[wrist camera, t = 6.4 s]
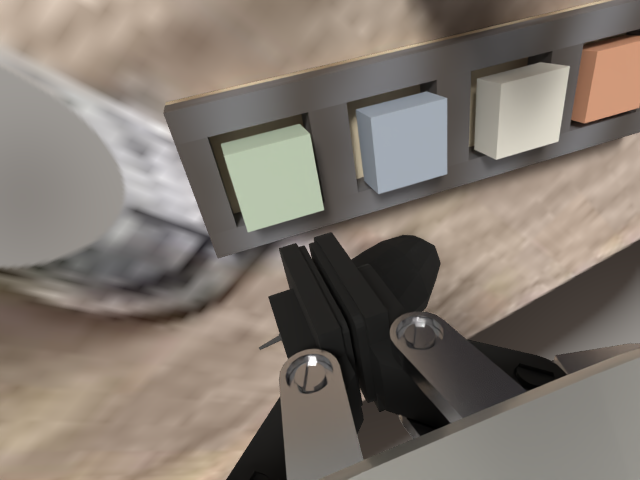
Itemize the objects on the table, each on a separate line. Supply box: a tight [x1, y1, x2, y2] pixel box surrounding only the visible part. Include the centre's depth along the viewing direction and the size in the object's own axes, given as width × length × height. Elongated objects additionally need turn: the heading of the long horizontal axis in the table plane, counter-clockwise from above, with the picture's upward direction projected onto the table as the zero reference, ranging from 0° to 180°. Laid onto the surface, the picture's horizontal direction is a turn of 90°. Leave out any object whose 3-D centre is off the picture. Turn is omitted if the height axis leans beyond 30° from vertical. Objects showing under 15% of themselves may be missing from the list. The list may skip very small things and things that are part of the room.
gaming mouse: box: [259, 235, 441, 350], centre depth 28 cm, size 6×15×4 cm, turn 115°
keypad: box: [164, 0, 640, 258], centre depth 23 cm, size 29×8×3 cm, turn 100°
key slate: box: [356, 91, 447, 194], centre depth 21 cm, size 4×4×2 cm
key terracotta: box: [571, 35, 640, 123], centre depth 24 cm, size 4×4×2 cm
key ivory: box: [474, 62, 570, 160], centre depth 22 cm, size 4×4×2 cm
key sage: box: [221, 124, 324, 232], centre depth 20 cm, size 4×4×2 cm
